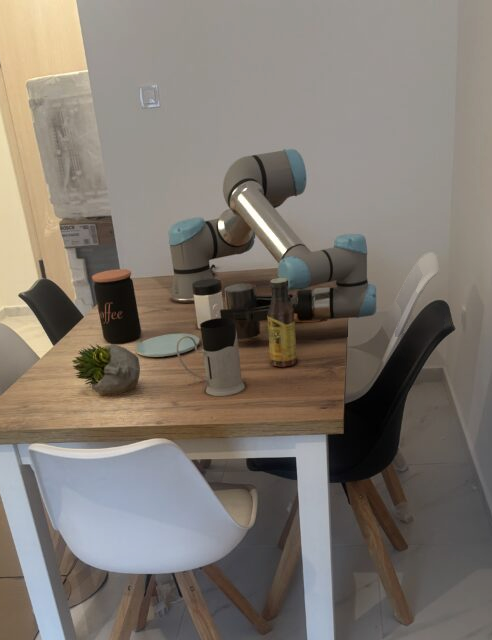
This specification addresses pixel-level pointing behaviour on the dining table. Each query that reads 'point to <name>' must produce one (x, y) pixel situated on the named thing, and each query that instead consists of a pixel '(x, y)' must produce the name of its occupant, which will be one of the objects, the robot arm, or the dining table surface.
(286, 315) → the sauce bottle
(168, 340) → the saucer
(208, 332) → the glass holder
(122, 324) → the coffee jar
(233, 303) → the dark glossy canister
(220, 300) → the jar
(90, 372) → the potted plant
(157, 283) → the dining table surface
